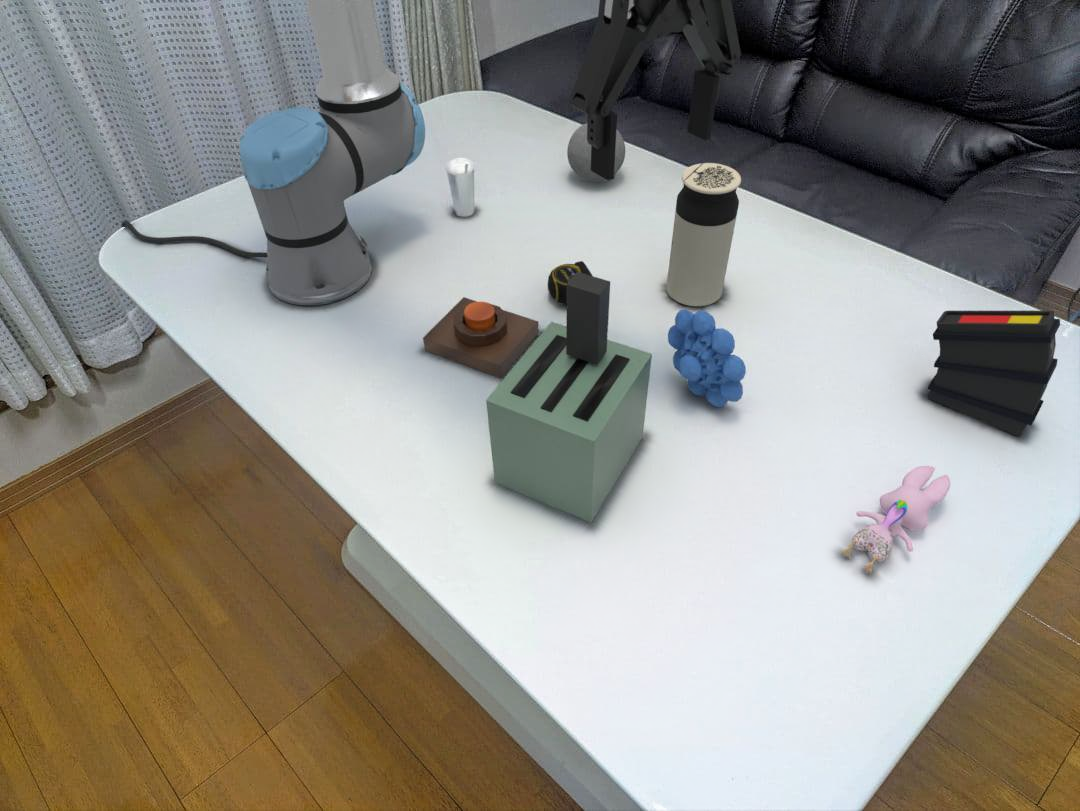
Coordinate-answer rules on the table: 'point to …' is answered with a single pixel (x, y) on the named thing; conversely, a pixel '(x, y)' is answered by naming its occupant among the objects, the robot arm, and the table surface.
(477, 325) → the button
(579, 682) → the table surface
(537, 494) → the toaster
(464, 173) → the milkshake
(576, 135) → the decorative ball
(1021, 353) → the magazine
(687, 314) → the grapes
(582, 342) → the slider
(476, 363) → the button block
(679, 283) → the travel mug
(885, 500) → the rabbit figure
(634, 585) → the table surface
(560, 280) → the tape measure
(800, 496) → the table surface
